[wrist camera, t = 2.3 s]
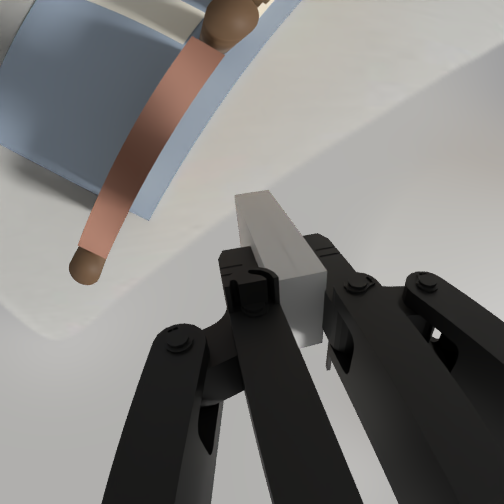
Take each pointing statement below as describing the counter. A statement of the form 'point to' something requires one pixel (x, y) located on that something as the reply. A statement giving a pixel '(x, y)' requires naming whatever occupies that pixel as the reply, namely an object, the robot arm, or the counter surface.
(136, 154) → the swing panel
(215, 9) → the brown wall panel
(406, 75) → the counter surface
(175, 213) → the counter surface
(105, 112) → the card
